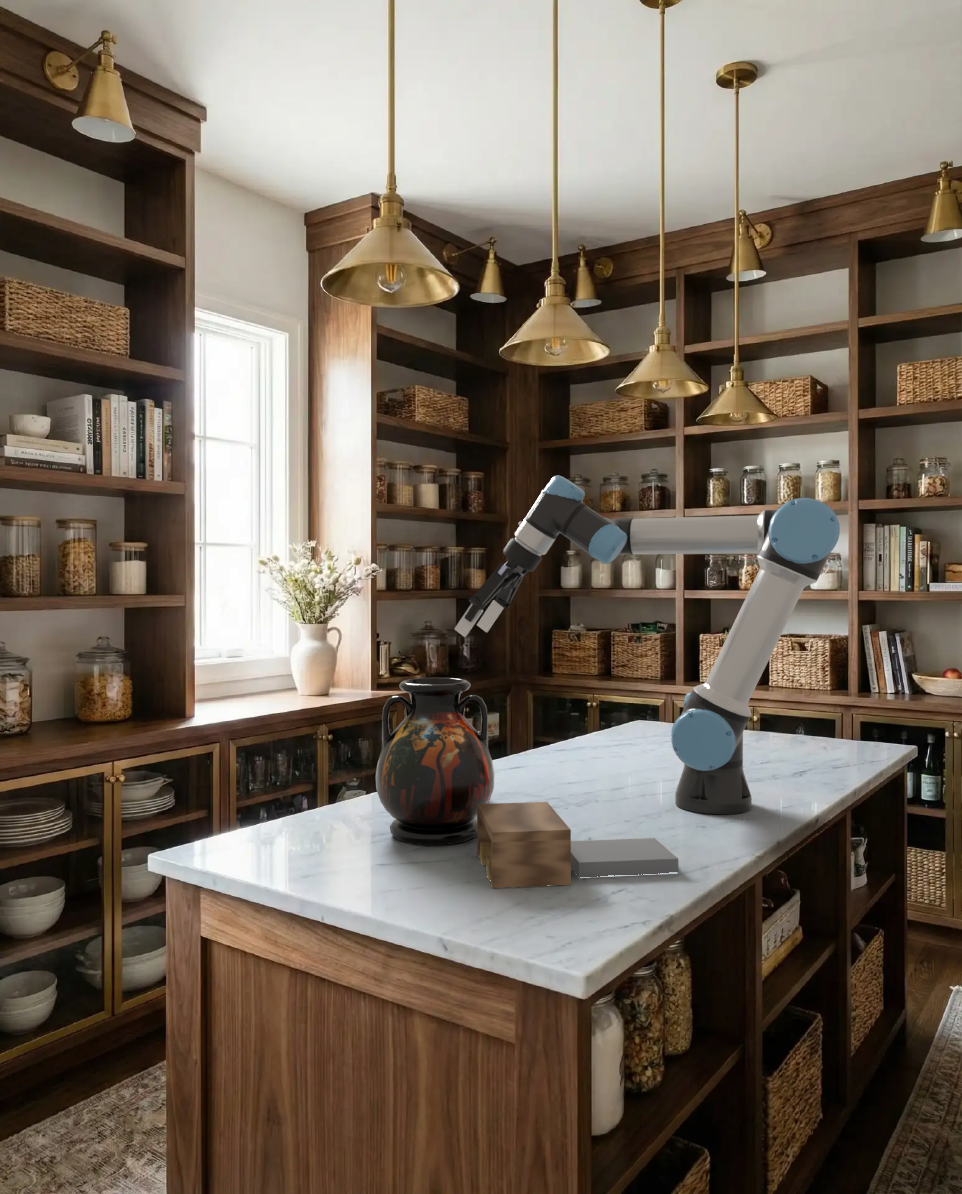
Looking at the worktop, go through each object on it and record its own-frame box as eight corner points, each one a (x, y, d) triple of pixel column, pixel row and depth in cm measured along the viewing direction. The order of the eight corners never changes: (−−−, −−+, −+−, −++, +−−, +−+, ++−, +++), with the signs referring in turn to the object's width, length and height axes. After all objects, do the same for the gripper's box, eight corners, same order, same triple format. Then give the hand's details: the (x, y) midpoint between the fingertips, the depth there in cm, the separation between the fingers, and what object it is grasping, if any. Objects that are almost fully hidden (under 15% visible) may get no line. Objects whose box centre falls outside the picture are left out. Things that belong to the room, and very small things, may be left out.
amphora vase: (372, 853, 163) (371, 688, 162) (379, 820, 184) (378, 675, 183) (498, 851, 164) (498, 687, 163) (490, 818, 185) (490, 674, 185)
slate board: (654, 855, 163) (654, 838, 163) (678, 877, 151) (678, 858, 151) (562, 859, 161) (562, 841, 161) (578, 881, 149) (579, 862, 149)
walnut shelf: (547, 851, 163) (547, 801, 163) (570, 885, 146) (570, 829, 145) (477, 854, 162) (477, 804, 162) (492, 888, 144) (492, 832, 144)
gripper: (530, 537, 206) (477, 616, 211) (494, 534, 183) (435, 623, 187) (558, 557, 205) (503, 637, 209) (525, 556, 181) (464, 646, 186)
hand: (471, 630), depth 198 cm, fingers open, 13 cm apart
